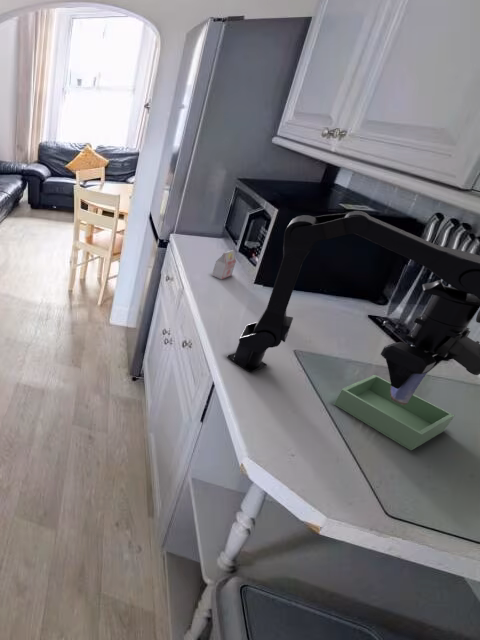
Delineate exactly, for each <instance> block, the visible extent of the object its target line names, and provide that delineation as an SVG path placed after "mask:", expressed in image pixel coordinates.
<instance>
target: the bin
mask: <svg viewBox="0 0 480 640" xmlns="http://www.w3.org/2000/svg"><path fill="white" fill-rule="evenodd" d="M390 388H391V381H389V380H387V379H384V378H382V377H381V376H379V375H377V374H373V375H371V376H368V377H366V378H364V379H362V380H359V381H358V382H355V383H353V384H350V385H348V386H345V387H344V388H341V390H340V392H339V394H338V396H337V398H336V400H335V401H334V403H333V406H336V407H338V408H339V409H341V410H342V411H344V412H346V413H347V414H349V415H351V416H352V417H354V418H356V419H357V420H359V421H361V422H362V423H364V424H365V425H367V426H368V427H371V428H372V429H374V430H375V431H377V432H379V433H380V434H382V435H384V436H386V437H387V438H388V439H391V440H392V441H394V442H395V443H397V444H399V445H400V446H402V447H404V448H406V449H407V450H409V451H413V450H414V449H416V448H418V447H420V446H422V445H424V444H425V443H426V442H428V441H430V440H431V439H433V438H435V437H437V436H438V435H440V434H442V433H443V432H445V431H446V429H447V428H448V426H449V425H450V423H451V422H452V421H453V419H454V417H455V416H456V415H455V414H453V413H451V412H449V411H447V410H446V409H443V408H442V407H440V406H437V405H435V404H433V403H431V402H429V401H428V400H426V399H424V398H422V397H420V396H418V395H416V394H415V393H413V395H412V396H411V398H410V400H409V401H408V403H407V404H405V405H402V404H399V402H398V401H397V400H396V401H397V402H398V403H396V402H394V401H393V400H392V399H391V397H390Z"/></svg>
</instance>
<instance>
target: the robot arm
mask: <svg viewBox="0 0 480 640" xmlns="http://www.w3.org/2000/svg"><path fill="white" fill-rule="evenodd" d="M348 235H356V236H358V237H361V238H363V239H365V240H368V241H370V242H371V243H374V244H376V245H378V246H380V247H382V248H384V249H386V250H389V251H391V252H394V253H396V254H398V255H400V256H402V257H405V258H407V259H408V260H411V261H413V262H415V263H417V264H420V265H421V266H423V267H425V268H426V269H427V270H429V271H430V272H432V273H433V274H434V275H435V276H436V277H438V278H439V279H438V280H435V281H433V282H427V283H423V284H422V285H421V287H422V291H423V293H425V294H427V295H432V298H431V299H430V301H429V303H428V304H427V306H426V308H425V309H424V311H423V312H422V314H421V315H420V316H417V317H416V318H415V319H414V321H413V322H414V323H415V324H416V325H415V327H414V328H413V330H412V331H411V332H410V333H408V334H406V335H405V337H404V340H405V341H408V342H410V343H411V345H410V344H408V343H405V342H403V341H399V342H393V343H390V344H388V345H386V346H384V347H383V348H382V350H381V352H380V356H381V357H382V358H383V359H385V362H386V366H387V370H388V375H389V382H390V383H391V386H393V387H395V388H397V389H399V388H400V387H401V386H402V385H403V384H404V383H405V382H406V381H407V380H409V379H410V378H411V377H412V376H413V375H414V374H424V373H426V372H427V374H428V373H429V372H431V371H432V370H433V369H434V368H435V367H437V366H438V365H439V364H441V362H443V361H447V360H454V361H455V362H457V363H458V364H459V365H461V366H462V367H463V368H464V369H465V370H466V371H467V372H468V373H470V374H471V375H473V376H480V341H479V340H476V341H475V340H473V339H471V338H470V337H468V336H469V335H470V334H471V330H470V329H471V328H469V327H468V326H469V325H470V323H471V321H473V318H474V317H475V322H476V323H478V324H480V254H479V255H478V254H476V253H472V252H468V251H464V250H461V249H456V248H451V247H445V246H442V245H438V244H435V243H433V242H431V241H428V240H426V239H425V238H422V237H419V236H417V235H415V234H412V233H411V232H408V231H405V230H404V229H401V228H398V227H396V226H394V225H392V224H390V223H388V222H385V221H383V220H380V219H378V218H376V217H373V216H372V215H369V214H368V213H367V212H365V211H361V210H353V211H349V212H344V213H332V214H323V215H318V216H312V215H307V214H303V215H298V216H296V217H294V218H292V219H291V220H290V222H289V224H288V225H287V226H286V228H285V230H284V234H283V246H282V256H283V257H282V260H281V262H280V266H279V269H278V272H277V276H276V279H275V281H274V285H273V287H272V291H271V294H270V296H269V300H268V303H267V306H266V307H265V309H264V310H263V312H262V314H261V315H260V317H259V319H258V320H257V321H256V322H252V323H248V324H246V325H245V326H244V329H243V330H242V333H241V334H240V336H239V338H238V344H237V346H236V350H235V352H234V353H230V354H228V355H227V356H226V357H227V359H228V360H230V361H232V362H233V363H234V364H236V365H238V366H239V367H241V368H242V369H244V370H246V371H247V372H249V373H253V372H256V371H259V370H261V369H264V368H266V367H267V366H268V364H267V363H265V362H264V361H263V359H264V356H265V354H266V351H267V350H268V349H269V348H276V347H278V346H280V344H281V342H283V343H285V342H286V341H287V337H288V336H289V332H290V329H291V326H292V323H293V320H294V317H293V316H288V315H287V309H288V306H289V303H290V300H291V298H292V295H293V291H294V289H295V285H296V283H297V280H298V277H299V274H300V272H301V269H302V266H303V262H304V261H305V259H306V258H307V256H308V255H309V253H310V252H311V250H312V249H313V247H314V246H315V244H316V243H317V242H319V241H327V240H331V239H335V238H339V237H343V236H348ZM442 281H444V282H445V283H447V284H448V285H449V286H447V285H444V283H443V282H442ZM473 295H474V296H473ZM475 315H476V316H475Z"/></svg>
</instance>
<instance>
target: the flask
mask: <svg viewBox="0 0 480 640" xmlns="http://www.w3.org/2000/svg"><path fill="white" fill-rule="evenodd" d="M427 374H428V373H427V372H426V373H424V374H414V375H413V376H412V377H411V378H410V379H409V380H407V381H406V382H405V383H404V384H403V385H402V386H401V387H400V388H399V389H397V388H395V387H393V386H391V388H390V397H391V399H392V400H393V401H394V402H396V403H398V402H399V404H402V405H405V404H407V403H408V401H409V400H410V398H411V396H412V395H413V394H415V392H416V390H417V389H418V387H419V385H420V384H421V382H422V381H423V379H424V378H425V377H426V375H427ZM396 400H397V401H398V402H397V401H396Z"/></svg>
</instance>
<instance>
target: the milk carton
mask: <svg viewBox="0 0 480 640" xmlns="http://www.w3.org/2000/svg"><path fill="white" fill-rule="evenodd" d="M236 263H237V259H236V249H231V250H228V251H225V252H223V253H222V255H221V256H220V257H218V259H217V260H215V263H214V267H213V269H212V272H211V276H213V277H215V278H217V279H219V280H224V279H227V278H229V277H232V275H233V272H234V269H235V266H236Z"/></svg>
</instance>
